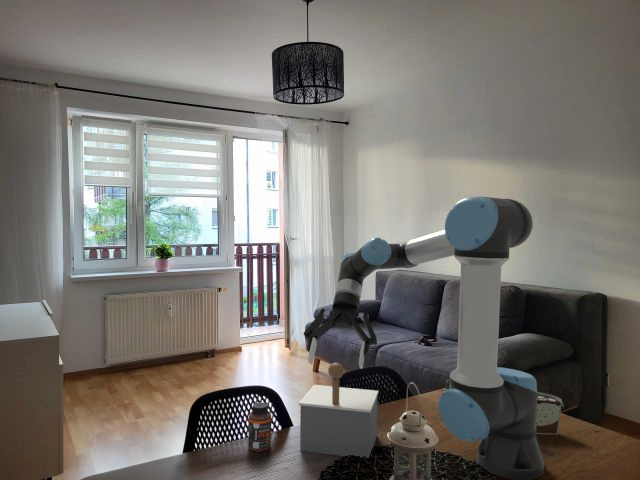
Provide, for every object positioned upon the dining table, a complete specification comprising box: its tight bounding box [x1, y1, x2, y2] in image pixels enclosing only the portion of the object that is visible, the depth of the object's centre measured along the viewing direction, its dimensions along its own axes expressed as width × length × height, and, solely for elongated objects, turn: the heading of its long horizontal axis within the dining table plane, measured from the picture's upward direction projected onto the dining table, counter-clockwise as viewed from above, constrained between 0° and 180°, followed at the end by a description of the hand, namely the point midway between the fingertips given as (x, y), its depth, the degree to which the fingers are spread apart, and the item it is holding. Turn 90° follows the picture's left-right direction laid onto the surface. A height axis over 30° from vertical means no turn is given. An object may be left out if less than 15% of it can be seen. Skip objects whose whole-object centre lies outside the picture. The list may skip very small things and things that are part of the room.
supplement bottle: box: [247, 401, 272, 453], centre depth 122 cm, size 6×6×11 cm
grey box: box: [299, 397, 378, 457], centre depth 125 cm, size 18×14×12 cm
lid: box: [298, 362, 379, 413], centre depth 124 cm, size 19×15×11 cm
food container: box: [536, 392, 564, 436], centre depth 134 cm, size 12×6×10 cm, turn 84°
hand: (335, 363), depth 122 cm, fingers open, 13 cm apart
